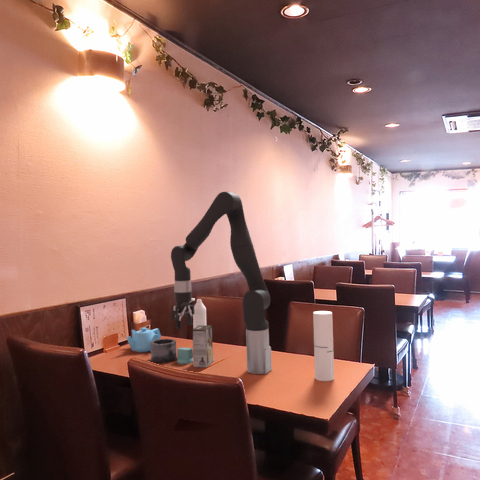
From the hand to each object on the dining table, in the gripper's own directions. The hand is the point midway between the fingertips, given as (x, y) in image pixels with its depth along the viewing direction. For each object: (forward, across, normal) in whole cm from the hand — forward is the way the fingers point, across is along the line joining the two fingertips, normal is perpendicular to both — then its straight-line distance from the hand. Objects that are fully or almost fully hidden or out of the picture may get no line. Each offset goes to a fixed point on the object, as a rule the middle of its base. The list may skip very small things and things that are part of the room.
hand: (183, 327), depth 187 cm
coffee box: (+16, 0, -10) cm, 18 cm away
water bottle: (+16, +19, +4) cm, 25 cm away
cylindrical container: (+15, +1, -63) cm, 65 cm away
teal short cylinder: (+16, 0, 0) cm, 16 cm away
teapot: (+16, +11, +31) cm, 37 cm away
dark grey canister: (+15, 0, +11) cm, 19 cm away
